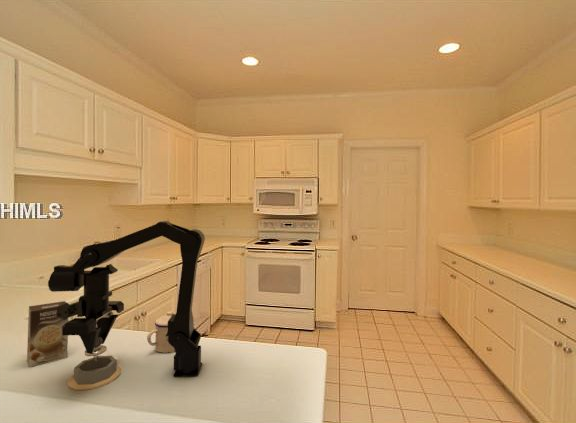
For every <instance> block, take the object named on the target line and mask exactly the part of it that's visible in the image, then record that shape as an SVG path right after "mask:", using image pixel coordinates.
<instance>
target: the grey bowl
mask: <svg viewBox="0 0 576 423" xmlns="http://www.w3.org/2000/svg"><path fill="white" fill-rule="evenodd" d="M117 362H118V360H117V359H116V358H115V357H114V356H112V355H98V361H97V362H94V356H92V357H91V358H87V359H84V360H82V361H81V362H79V363H78V364H77V365H75V366H74V367H73V374H72V375H71V376H70V377H69V379H68V380H67V386H68V388H69V389H70V390H75V391H89V390H94V389H97V388H100V387H103V386H106V385H109V384H110V383H111V382H113V381H115V380H117V379H118V378H119V377H120V376H121V374H122V368H121V366H120V365H118V363H117Z"/></svg>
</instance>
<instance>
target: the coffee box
mask: <svg viewBox="0 0 576 423" xmlns="http://www.w3.org/2000/svg"><path fill="white" fill-rule="evenodd" d="M65 303H68V302H66V300H64V301H57V302H49V303H44V304H43V303H42V304H36V305H29V306H28V318H27V319H28V321H27V322H28V323H27V347H26V348H27V351H26V352H27V354H26V355H27V357H26V361H27V366H28V367H29V368H32V367H35V366H40V365H43V364H47V363H50V362H54V361H59V360H62V359H67V358H68V346H69V345H68V344H69V340H68V338H69V335H62V326H63V325H64V324H65V323H67V322H69V318H67V319H66V320H62V318H58V317H57V316H56V314H57V306H60V305H62V304H65Z"/></svg>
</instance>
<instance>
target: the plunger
mask: <svg viewBox="0 0 576 423" xmlns="http://www.w3.org/2000/svg"><path fill="white" fill-rule="evenodd" d="M102 341H103V340H102V337H100V336H98V338H97V341H96V344H95V347H94V350H93V352H92V353H87V351H86V349H85V350H84V356H86V357H94V362H97V361H98V356H101V355H102V354H105V352H107V351H108V350H107V348H108V347H107V345H103V344H102Z"/></svg>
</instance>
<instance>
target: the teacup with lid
mask: <svg viewBox="0 0 576 423" xmlns="http://www.w3.org/2000/svg"><path fill="white" fill-rule="evenodd" d="M173 314H174V311H173V310H172V311H171V310H169V311H167V312H166V314H165V315H163V316H161V317H158V318H157V319H156V320H155V322H154V325H155V329H152V330H150V331H149V332H148V334H147V336H146V337H147V338H146V339H147V340H146V341H147V343H148V344H149V345H150V346H153V347H155V350H156V352H158V353H161V352H162V354H163V353H164V354H167V353H168V352H169V353H173V352H175V349H174V347H173V346H171V345H170V344H169V342H168V336H167V337H166V334H167V331H168V320H169V319H170V318H171V316H172V315H173ZM153 334H155V342H152V340H151V339H152V336H153Z"/></svg>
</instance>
